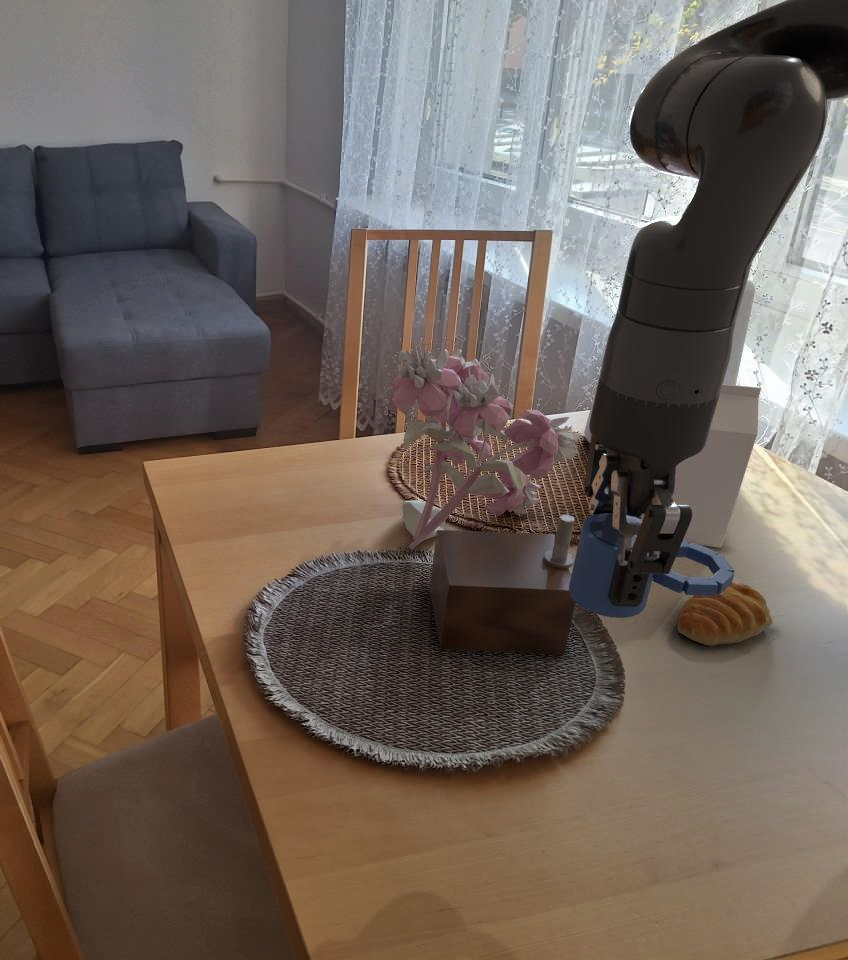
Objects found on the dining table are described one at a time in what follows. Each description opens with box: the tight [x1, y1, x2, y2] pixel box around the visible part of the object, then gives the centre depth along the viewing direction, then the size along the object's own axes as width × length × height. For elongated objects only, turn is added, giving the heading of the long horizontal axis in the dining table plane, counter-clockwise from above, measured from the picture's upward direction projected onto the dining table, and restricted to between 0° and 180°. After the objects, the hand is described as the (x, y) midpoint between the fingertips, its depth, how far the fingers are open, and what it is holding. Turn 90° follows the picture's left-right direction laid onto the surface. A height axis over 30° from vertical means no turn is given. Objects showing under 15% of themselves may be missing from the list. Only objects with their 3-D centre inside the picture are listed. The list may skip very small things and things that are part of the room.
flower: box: [391, 340, 583, 550], centre depth 102 cm, size 20×22×25 cm
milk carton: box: [672, 384, 762, 549], centre depth 100 cm, size 7×7×19 cm
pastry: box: [677, 581, 774, 647], centre depth 87 cm, size 9×7×4 cm
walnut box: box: [429, 514, 577, 656], centre depth 87 cm, size 13×10×13 cm
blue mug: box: [569, 513, 735, 619], centre depth 66 cm, size 11×6×6 cm, turn 84°
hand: (610, 578), depth 67 cm, fingers closed on blue mug, 5 cm apart
